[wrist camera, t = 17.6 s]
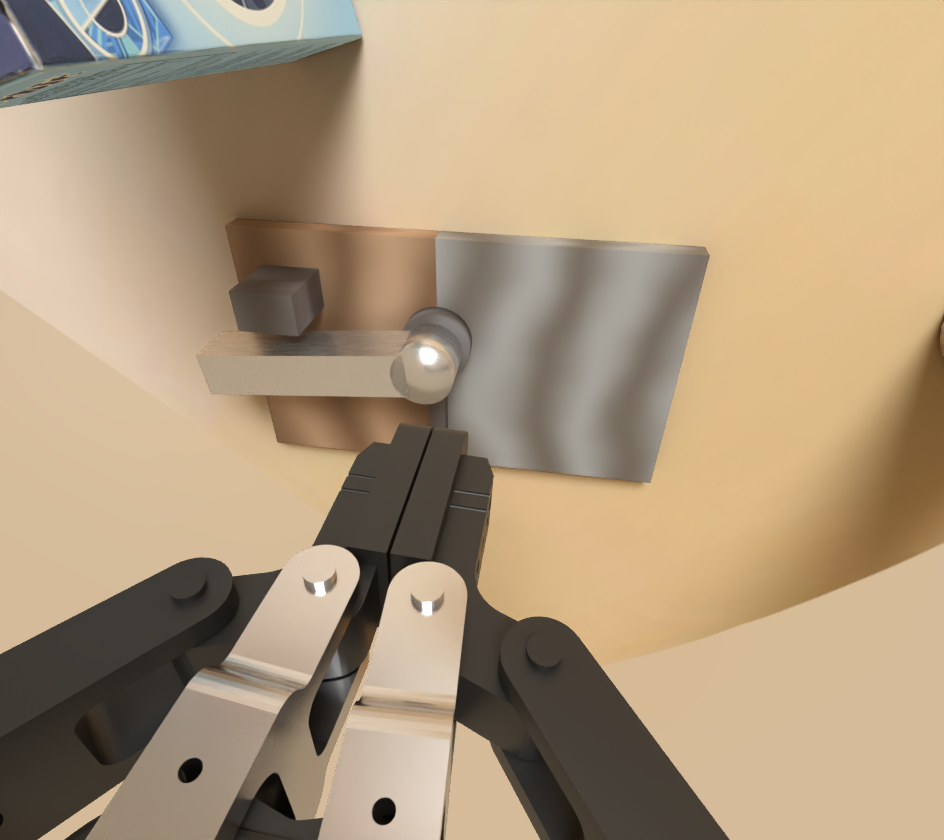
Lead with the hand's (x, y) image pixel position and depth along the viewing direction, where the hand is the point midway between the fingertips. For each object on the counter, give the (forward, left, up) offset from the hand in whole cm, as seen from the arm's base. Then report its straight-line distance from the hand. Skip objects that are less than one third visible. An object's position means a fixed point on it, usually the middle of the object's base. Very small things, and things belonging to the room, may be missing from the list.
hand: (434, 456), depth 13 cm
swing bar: (+12, +11, -23) cm, 28 cm away
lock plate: (+4, +12, -26) cm, 30 cm away
